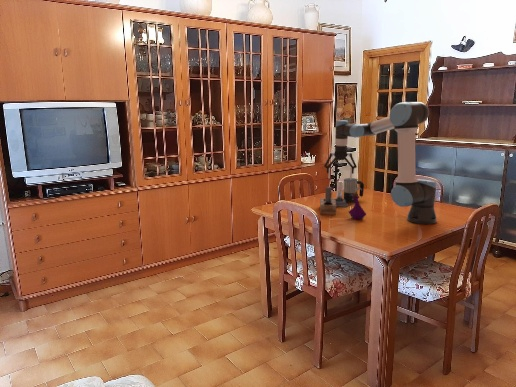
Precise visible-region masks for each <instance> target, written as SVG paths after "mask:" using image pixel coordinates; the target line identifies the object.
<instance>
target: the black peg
mask: <svg viewBox="0 0 516 387" xmlns="http://www.w3.org/2000/svg"><path fill="white" fill-rule="evenodd" d="M324 188H325V189H324V190H325V196H324V198H325V205H331V199H332V191H333V190H332V189H333V188H332V186H326V187H324Z"/></svg>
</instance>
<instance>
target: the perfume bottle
mask: <svg viewBox="0 0 516 387" xmlns="http://www.w3.org/2000/svg"><path fill="white" fill-rule="evenodd" d="M360 189H361V188H360V187H357V188H356V191H357V193H353V196H352V198H354V200H355V202H354V206H353V207H352V208H351V209H350V210H349V211H348V214H349V216H350V217H351V218H352V219H353V220H355V221H357V220H359V221H360V220H363V219H364V217H366V216H367V213H366V211H365V210H364V209H363V208H362V206H361V204H360V201H359V199H360V196H359V193H358V191H360ZM361 191H362V189H361Z"/></svg>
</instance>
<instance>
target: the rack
mask: <svg viewBox="0 0 516 387" xmlns="http://www.w3.org/2000/svg"><path fill="white" fill-rule="evenodd" d="M335 199H336V198H331V205H325V197H323V198H321V197H320V198H319V207H320V208H319V212H320V215H329V216H330V215H333V216H334V215H337V207H336V203H335Z"/></svg>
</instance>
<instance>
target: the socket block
mask: <svg viewBox="0 0 516 387" xmlns="http://www.w3.org/2000/svg"><path fill="white" fill-rule="evenodd" d="M334 199H335V203H336V208H337V207H341V208H346V207H347V208H348V207H349V204H348V203H349V202H347V201H345V199H344V198H342V201H337V198H334Z"/></svg>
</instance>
